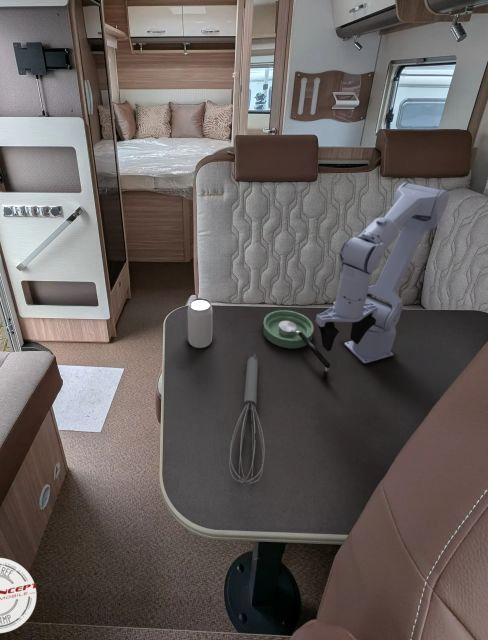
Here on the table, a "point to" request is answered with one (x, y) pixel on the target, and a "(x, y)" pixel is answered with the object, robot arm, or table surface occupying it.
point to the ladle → (290, 330)
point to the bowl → (298, 319)
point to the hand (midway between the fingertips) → (340, 344)
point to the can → (200, 323)
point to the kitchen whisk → (249, 404)
